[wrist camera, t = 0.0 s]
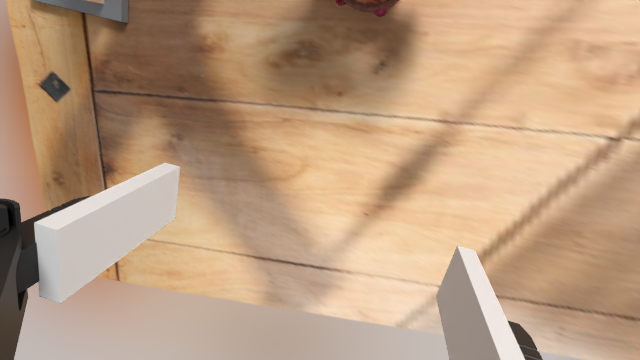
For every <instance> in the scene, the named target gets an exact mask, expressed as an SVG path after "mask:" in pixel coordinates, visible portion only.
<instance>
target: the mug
mask: <svg viewBox="0 0 640 360" xmlns="http://www.w3.org/2000/svg"><path fill="white" fill-rule="evenodd" d="M398 1H399V0H336V3H337V4H338V5H340V6H342V5H345V4H348V5H350V6H351V7H353V8H355V9H357V10H360V11H366V12H374V13H375V14H376V15H377V16H379V17H381V16H384V15H385V14H386V12H387V8H389V7H391V6H392V5H394V4H395V3H396V2H398Z"/></svg>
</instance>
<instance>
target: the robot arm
mask: <svg viewBox="0 0 640 360" xmlns="http://www.w3.org/2000/svg"><path fill="white" fill-rule="evenodd" d="M179 172H180V167H179V166H175V165H172V164H168V163H163V164H161V165H159V166H157V167H154V168H152V169H150V170H148V171H146V172H143V173H141V174H139V175H137V176H135V177H133V178H130V179H128V180H126V181H124V182H122V183H119V184H117V185H115V186H113V187H111V188H109V189H106V190H104V191H102V192H100V193H98V194H96V195H93V196H87V197H83V198H78V199H74V200H71V201H69V202H67V203H65V204H62V205H61V206H58V207H56V208H53V209H51V211H46V212H44V213H42V214H40V215H37V216H35V217H33V218H31V219H28V220H26V221H24V222H22V223H21V216H20V206H19V203H17V202H15V201H13V200H9V199H0V360H14V356H15V352H16V347H17V343H18V338H19V334H20V330H21V326H22V321H23V317H24V312H25V308H26V303H27V299H28V293H27V288H29V287H31V286H32V285H34V284H35V283H37V282H39V295H40V297H43V298H46V299H49V300H52V301H55V302H58V303H62V302H63V301H64V300H66V299H67V298H69V297H70V296H71V295H72V294H74V293H75V292H76V291H78V290H79V289H81V288H82V287H83V286H85V285H86V284H87V283H89V282H90V281H91V280H93V279H94V278H95V277H97V276H98V275H100V274H101V273H102V272H104V271H105V270H106V269H108V268H109V267H110V266H112V265H113V264H114V263H116V262H117V261H118V260H120V259H121V258H122V257H124V256H125V255H126V254H128V253H129V252H130V251H132V250H133V249H134V248H136V247H137V246H139V245H140V244H141V243H143V242H144V241H145V240H147V239H148V238H149V237H151V236H152V235H153V234H155V233H156V232H157V231H159V230H160V229H161V228H163V227H164V226H165V225H167V224H168V223H169V222H171V221H172V220H173V219H175V218H176V207H177V196H178V184H179ZM436 297H437V302H438V307H439V311H440V316H441V321H442V326H443V331H444V335H445V340H446V345H447V349H448V354H449V359H450V360H542V357H541V355H540V353H539V352H538V351H537V348H536V346H535V344H534V342H533V340H532V338H531V336H530V335H529V334H528V333H527V332H526V331H525V330H524V329H523V328H522V327H521V326H520V324H517V323H514V322H510V321H507V319H506V317H505V315H504V313H503V310H502V308H501V306H500V304H499V302H498V300H497V297H496V295H495V293H494V291H493V289H492V287H491V284H490V282H489V280H488V278H487V276H486V274H485V271H484V269H483V267H482V265H481V263H480V261H479V258H478V256H477V254H476V252H475V251H474V250H471V249H467V248H464V247H460V246H457V248H456V250H455V252H454V255H453V257H452V260H451V262H450V264H449V267H448V269H447V272H446V274H445V276H444V279H443V281H442V283H441V286H440V288H439V291H438V293H437V295H436Z"/></svg>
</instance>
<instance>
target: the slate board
mask: <svg viewBox="0 0 640 360" xmlns="http://www.w3.org/2000/svg"><path fill="white" fill-rule="evenodd" d="M35 1H39V2H43V3H47V4H51V5H55V6H59V7H63V8H67V9H71V10H75V11H79V12H83V13H87V14H92V15H96V16H100V17H104V18H108V19H112V20H116V21H120V22H126V23H128V5H129V0H104V4H101V3H96V2H91V1H86V0H35Z"/></svg>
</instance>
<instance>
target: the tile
mask: <svg viewBox="0 0 640 360" xmlns="http://www.w3.org/2000/svg"><path fill="white" fill-rule="evenodd" d="M86 1H91V2H96V3H101V4H104V0H86Z"/></svg>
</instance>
